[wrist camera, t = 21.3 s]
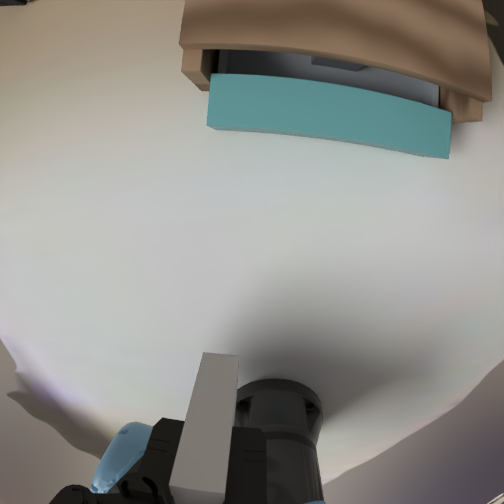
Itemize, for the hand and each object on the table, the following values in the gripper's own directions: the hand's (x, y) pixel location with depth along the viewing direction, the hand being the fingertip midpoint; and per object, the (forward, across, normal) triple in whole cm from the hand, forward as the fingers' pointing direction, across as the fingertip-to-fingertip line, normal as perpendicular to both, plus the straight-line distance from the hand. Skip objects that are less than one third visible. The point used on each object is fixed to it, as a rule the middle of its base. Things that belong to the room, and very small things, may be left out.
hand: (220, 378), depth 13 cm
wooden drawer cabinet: (+24, -8, -26) cm, 37 cm away
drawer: (+24, -8, -23) cm, 34 cm away
